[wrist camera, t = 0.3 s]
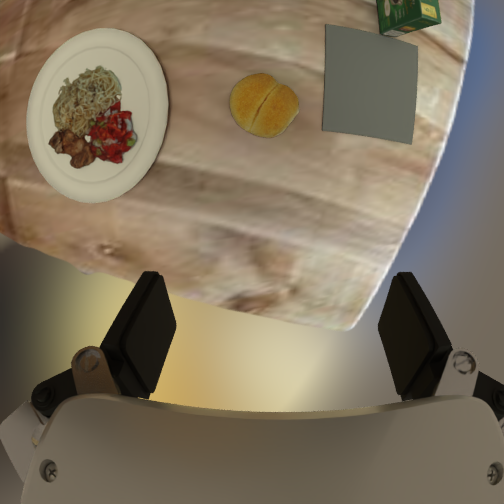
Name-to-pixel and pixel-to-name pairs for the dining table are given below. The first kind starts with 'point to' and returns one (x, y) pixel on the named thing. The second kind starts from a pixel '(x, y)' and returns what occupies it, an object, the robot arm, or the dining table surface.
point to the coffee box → (407, 15)
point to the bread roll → (263, 105)
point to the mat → (369, 84)
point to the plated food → (97, 115)
